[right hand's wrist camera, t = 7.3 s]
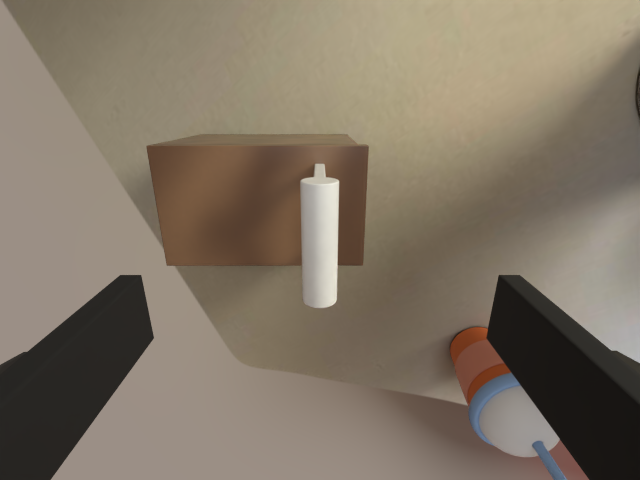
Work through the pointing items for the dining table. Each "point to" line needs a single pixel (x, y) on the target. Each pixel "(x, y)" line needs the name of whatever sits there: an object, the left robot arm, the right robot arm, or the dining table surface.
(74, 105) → the dining table surface
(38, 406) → the right robot arm
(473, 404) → the cup with straw
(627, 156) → the dining table surface
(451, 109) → the dining table surface
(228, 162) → the lid
